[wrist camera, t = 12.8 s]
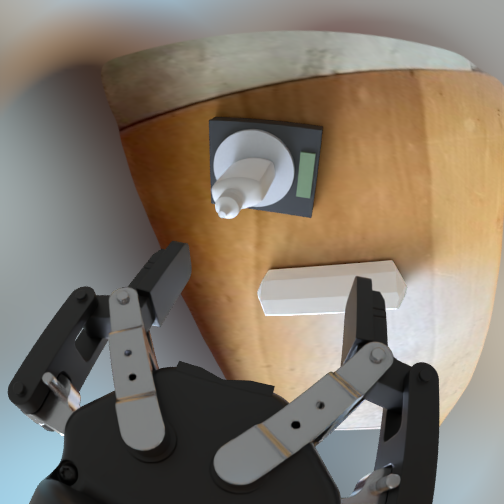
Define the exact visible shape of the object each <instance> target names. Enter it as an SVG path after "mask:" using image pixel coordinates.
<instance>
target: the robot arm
mask: <svg viewBox="0 0 504 504" xmlns="http://www.w3.org/2000/svg"><path fill="white" fill-rule="evenodd" d="M190 275H191V260H190V252H189V246H188V244H187V243H182V242H177V241H172V242H171V243H170V244H169V246H168V247H167V248H166V249H165V250H164V249H161V250H159V251H158V252H156V253H155V254H153V255H152V257H151V258H150V259H149V260H148V263H146V264H145V265H144V267H143V268H142V269H141V271H140V272H139V273H138V274H137V276H136V277H135V279H133V281H132V282H131V283H130V285H129V286H128V287H122V288H119V289H117V290H115V291H114V292H113V293H112V294H111V295H107V296H106V295H100V296H99V295H96V294H95V292H94V290H93V289H92V288H90V287H80V288H78V289H76V290H75V291H73V292H72V294H71V295H70V296H69V298H68V299H67V300H66V302H65V303H64V304H63V305H62V307H61V308H60V309H59V311H58V312H57V313H56V315H55V316H54V318H53V319H52V320H51V322H50V323H49V324H48V326H47V328H46V329H45V330H44V332H43V333H42V334H41V336H40V337H39V339H38V340H37V342H36V343H35V345H34V346H33V348H32V349H31V351H30V352H29V354H28V356H27V357H26V359H25V360H24V362H23V363H22V365H21V367H20V368H19V369H18V371H17V373H16V374H15V376H14V378H13V379H12V381H11V383H10V384H9V387H8V397H9V399H10V400H11V402H13V403H14V404H15V405H16V406H17V407H18V408H19V409H21V411H22V412H23V413H24V414H25V415H26V416H28V417H29V418H30V419H31V420H33V421H34V422H35V423H37V424H39V425H40V426H42V427H43V428H44V429H46V430H47V431H56V432H57V433H59V434H61V435H63V436H64V449H63V455H62V459H61V461H60V463H59V465H58V466H57V468H56V469H55V470H54V471H53V472H52V473H51V474H50V475H48V476H47V477H46V478H45V479H44V480H42V481H41V482H40V483H39V485H38V486H37V488H36V490H35V492H34V495H33V496H32V499H31V501H30V503H29V504H432V502H433V495H434V488H435V480H436V469H437V459H438V443H439V378H438V374H437V372H436V370H435V369H434V368H433V367H432V366H431V365H429V364H427V363H424V362H420V363H416V364H414V365H413V366H412V367H411V366H409V365H407V364H405V363H402V362H400V361H398V360H397V359H396V358H394V357H393V354H392V351H391V350H390V349H389V347H388V342H387V322H386V311H385V310H386V308H385V300H384V298H383V296H382V294H381V293H380V292H379V291H374V290H372V279H371V278H365V277H360V276H355V279H354V282H353V285H352V288H351V291H350V294H349V297H348V299H347V303H346V308H345V320H344V335H343V347H342V358H341V367H340V368H339V369H338V370H337V371H335V372H334V373H333V372H329V373H328V374H326V375H325V376H324V377H323V378H321V379H320V380H319V381H318V382H316V383H315V384H314V385H313V386H311V387H310V388H309V389H308V390H306V391H305V392H304V393H302V394H301V395H300V396H299V397H297V398H296V399H295V400H293V401H292V402H291V403H288V402H287V401H286V400H285V399H284V398H282V397H281V396H279V395H277V394H275V393H273V391H274V387H275V386H272V385H267V384H263V383H258V382H254V381H245V380H223V379H221V378H219V377H217V376H215V375H214V374H212V373H210V372H208V371H206V370H205V369H203V368H201V367H198V366H194V365H191V364H188V363H184V362H181V361H179V363H178V365H177V367H167V368H161V369H159V367H158V364H157V360H156V356H155V352H154V348H153V343H152V339H151V334H150V331H149V329H150V327H151V326H152V325H155V326H158V327H161V325H162V323H163V321H164V320H165V318H166V316H167V315H168V313H169V311H170V310H171V308H172V307H173V305H174V303H175V302H176V300H177V298H178V296H179V295H180V293H181V292H182V290H183V288H184V287H185V285H186V283H187V282H188V280H189V278H190ZM82 328H84V329H83V330H82V332H81V333H80V335H79V336H78V338H77V339H76V337H77V335H78V334H79V332H80V331H81V329H82ZM75 339H76V341H75ZM108 339H109V349H110V358H111V365H112V373H113V380H114V387H115V391H113V392H111V393H109V394H107V395H105V396H103V397H101V398H99V399H96V400H94V401H93V402H90V403H88V404H86V405H84V406H82V407H80V401H81V397H80V393H79V391H80V389H81V387H82V385H83V384H84V382H85V380H86V378H87V376H88V374H89V373H90V371H91V369H92V367H93V365H94V364H95V362H96V360H97V358H98V357H99V355H100V353H101V351H102V350H103V348H104V346H105V345H106V343H107V341H108ZM365 399H366V400H368V401H370V402H372V403H374V404H376V405H379V406H381V407H383V414H382V422H381V430H380V437H379V444H378V451H377V457H376V462H375V468H374V471H373V472H371V473H369V474H368V475H366V476H364V477H362V478H361V479H360V480H359V481H358V483H357V484H356V487H355V489H354V491H353V492H352V494H351V495H350V496H348V497H347V498H341V497H340V492H339V490H338V487H337V486H336V484H335V482H334V480H333V478H332V477H331V475H330V473H329V471H328V470H327V468H326V466H325V464H324V462H323V461H322V459H321V457H320V455H319V453H318V451H317V450H316V448H315V447H316V446H317V445H318V444H319V443H320V442H322V441H323V440H324V439H325V438H326V437H327V436H328V435H329V434H331V433H332V432H333V431H334V430H335V429H336V428H337V427H338V426H339V425H340V424H341V423H342V422H343V421H344V420H345V419H346V418H347V417H348V416H349V415H350V414H351V413H352V412H353V411H354V410H355V409H356V408H357V407H358V406H359V405H360V404H361V403H362V402H363V401H364V400H365Z"/></svg>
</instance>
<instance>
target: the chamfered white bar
mask: <svg viewBox="0 0 504 504" xmlns="http://www.w3.org/2000/svg"><path fill="white" fill-rule="evenodd" d="M355 276H360V277H365V278H371V279H372V290H374V291H379V292H380V293H381V294H382V296H383V298H384V300H385V308H386V310H391V309H399V307H400V305H401V303H402V301H403V299H404V297H405V294H406V290H407V285H406V283H405V282H404V280H403V278H402V276H401V274H400V273H399V271H398V269H397V267H396V266H395V264H394V262H393V261H392V260H388V261H376V262H365V263H353V264H340V265H328V266H315V267H302V268H288V269H274V270H268V272H267V273H266V275H265V277H264V278H263V280H262V282H261V284H260V287H259V290H258V292H257V293H258V297H259V300H260V302H261V305H262V308H263V310H264V313H265V315H266V316H281V315H311V314H333V313H345V308H346V303H347V299H348V297H349V294H350V291H351V288H352V285H353V282H354V279H355Z"/></svg>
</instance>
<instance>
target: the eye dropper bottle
mask: <svg viewBox="0 0 504 504" xmlns="http://www.w3.org/2000/svg"><path fill="white" fill-rule="evenodd" d="M274 178H275V168H274V164H273V162H272V161H270V160H267V159H263V158H245V159H242V160H239V161H237V162H235V163H233V164H232V165H231V166H230V167H229V168H228V169H227V170H226V171H225V172H224V173H223V174H222V176H221V177H220V178H219V179H218V180H217V181H216V182H215V184H214V185H213V186H212V195H213V199H214V201H215V209H216V211H217V212H218V214H219V217H221V218H228V219H231V218H234V217H236V216H237V215H238V213H239V212H240V210H241V209H244V208H248V207H251V206H254V205H256V204H258V203H260V202H261V201H262V200H263V199H264V197H265V196H266V194H267V192H268V190H269V188H270V186H271V184H272V182H273V180H274Z"/></svg>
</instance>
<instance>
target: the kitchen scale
mask: <svg viewBox="0 0 504 504" xmlns="http://www.w3.org/2000/svg"><path fill="white" fill-rule="evenodd" d="M322 131H323V127H322V126H316V125H308V124H300V123H292V122H283V121H273V120H261V119H248V118H232V117H215V118H213V119H211V120H209V141H210V177H211V203H212V204H215V201H214V199H213V195H212V186H213V185H214V184H215V182H216V181H217V180H218V179H219V178H220V177H221V176H222V174H223V173H224V172H225V171H226V170H227V169H228V168H229V167H230V166H231V165H232V164H233V163H235V162H237V161H239V160H242V159H245V158H263V159H267V160H270V161H272V162H273V164H274V168H275V178H274V180H273V182H272V184H271V186H270V188H269V190H268V192H267V194H266V196H265V197H264V199H263V200H262V201H261V202H260V203H258V204H256V205H254V206H251V207H248V208H249V209H256V210H263V211H270V212H277V213H283V214H290V215H296V216H302V217H309V218H311V217H312V210H313V203H314V196H315V189H316V181H317V174H318V166H319V158H320V149H321V140H322Z"/></svg>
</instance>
